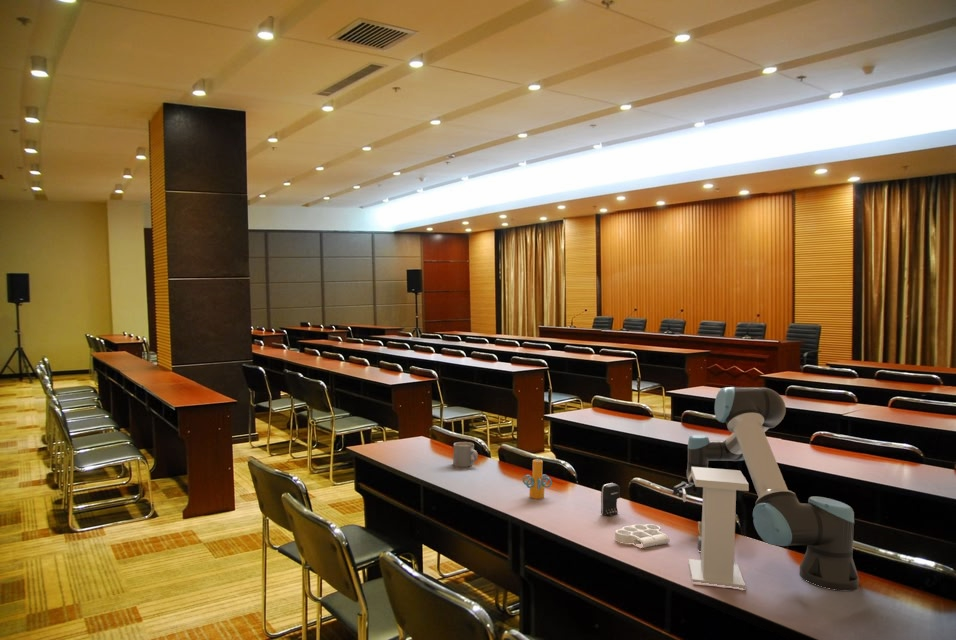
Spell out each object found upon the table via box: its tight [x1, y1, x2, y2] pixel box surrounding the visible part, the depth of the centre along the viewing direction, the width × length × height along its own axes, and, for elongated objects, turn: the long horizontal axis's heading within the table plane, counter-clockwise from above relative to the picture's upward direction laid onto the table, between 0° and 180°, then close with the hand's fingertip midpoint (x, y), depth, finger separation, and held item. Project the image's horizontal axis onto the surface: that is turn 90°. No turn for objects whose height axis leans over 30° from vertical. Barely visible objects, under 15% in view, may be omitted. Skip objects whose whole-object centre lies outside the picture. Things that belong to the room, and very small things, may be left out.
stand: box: [688, 467, 750, 590], centre depth 186 cm, size 14×15×30 cm
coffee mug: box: [452, 441, 479, 468], centre depth 309 cm, size 13×10×10 cm
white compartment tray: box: [614, 523, 671, 549], centre depth 215 cm, size 3×18×15 cm
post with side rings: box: [522, 459, 553, 500], centre depth 260 cm, size 12×10×15 cm
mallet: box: [697, 520, 702, 551], centre depth 216 cm, size 6×24×4 cm, turn 166°
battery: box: [600, 482, 621, 517], centre depth 240 cm, size 7×4×11 cm, turn 123°
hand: (705, 499), depth 217 cm, fingers open, 13 cm apart
